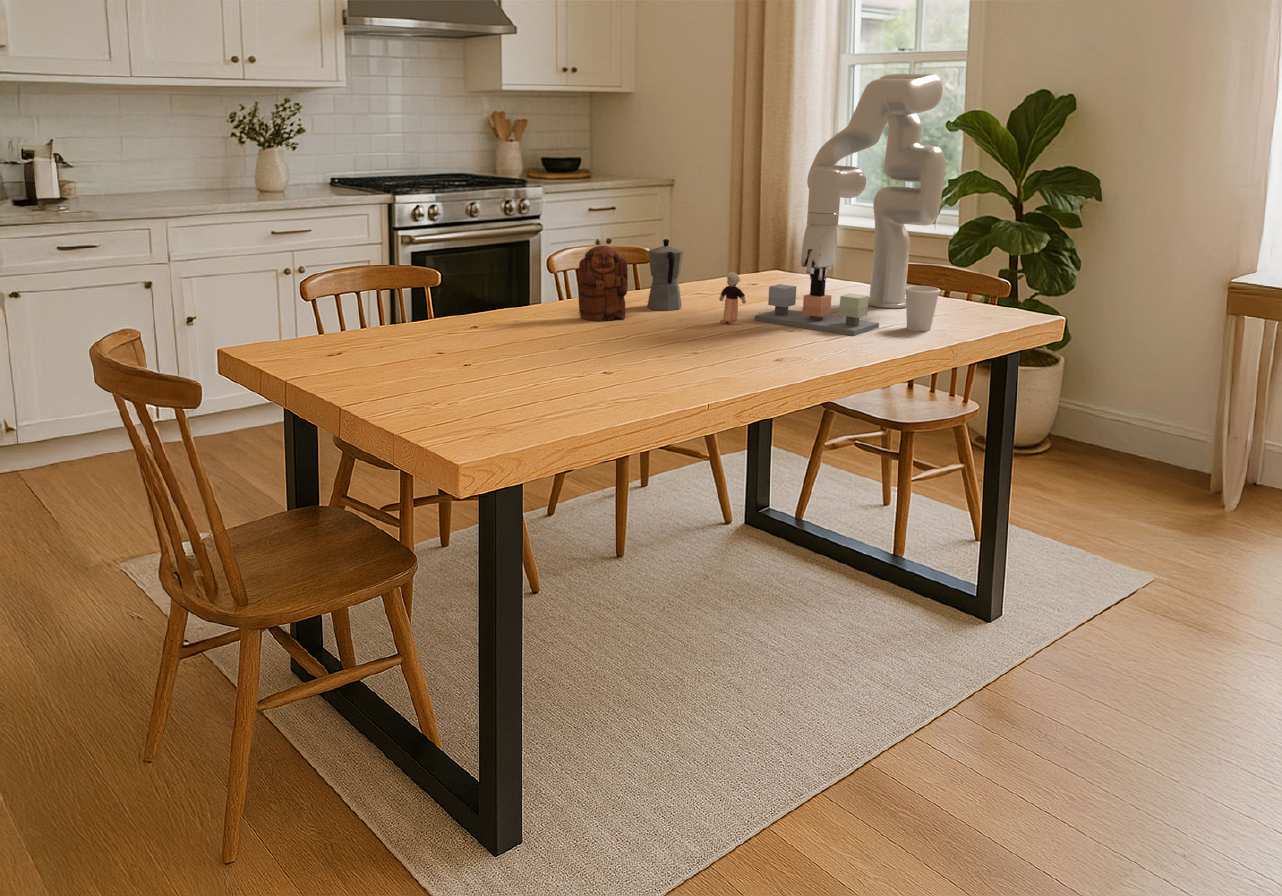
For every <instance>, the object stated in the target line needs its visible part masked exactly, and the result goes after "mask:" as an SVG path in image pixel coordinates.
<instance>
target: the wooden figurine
mask: <svg viewBox="0 0 1282 896" xmlns="http://www.w3.org/2000/svg"><path fill="white" fill-rule="evenodd" d="M628 271H629V268H628V262H627V260H626V259H625V258H623V257H621V256H620V254H619V253H618V252H617V251H616V250H615V249H614V248H612V247H610V246H608V245H596V246H593V247H592V248H590V249H589V250H587V252H586V253H585V254H584V257H583V258H582V259H580V261H579V264H578V280H579V282H580V283H579V286H578V309H579V316H580V318H581V319H582V320H586V321H591V322H592V321H593V322H602V321H615V320H625V319H626V300H625V296H626V295H627V293H628V289H629V288H628V287H629V286H628V285H629V283H628V279H629V278H628V277H629V275H628V274H629V273H628Z"/></svg>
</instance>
